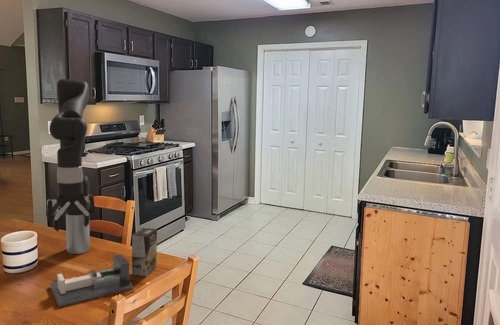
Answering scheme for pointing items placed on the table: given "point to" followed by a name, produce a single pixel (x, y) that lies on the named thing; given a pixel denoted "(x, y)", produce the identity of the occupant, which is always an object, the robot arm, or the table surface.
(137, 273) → the coffee box
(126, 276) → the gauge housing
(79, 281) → the plunger
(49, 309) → the table surface
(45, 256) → the table surface
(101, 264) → the table surface
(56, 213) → the robot arm
